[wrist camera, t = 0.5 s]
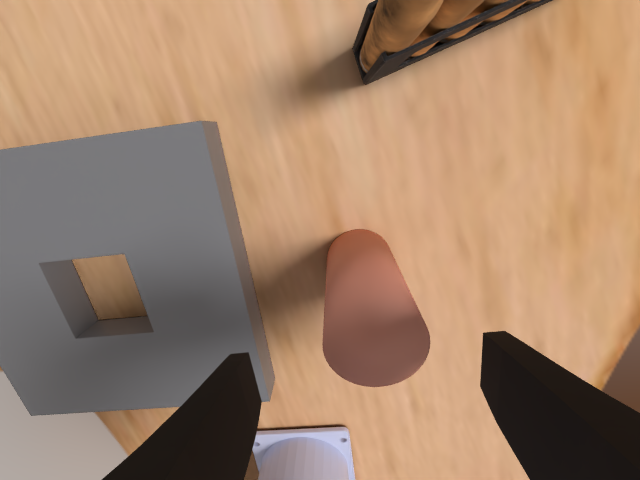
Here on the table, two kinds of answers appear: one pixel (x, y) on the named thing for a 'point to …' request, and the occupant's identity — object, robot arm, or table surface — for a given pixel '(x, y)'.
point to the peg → (370, 314)
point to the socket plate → (145, 264)
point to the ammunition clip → (424, 29)
